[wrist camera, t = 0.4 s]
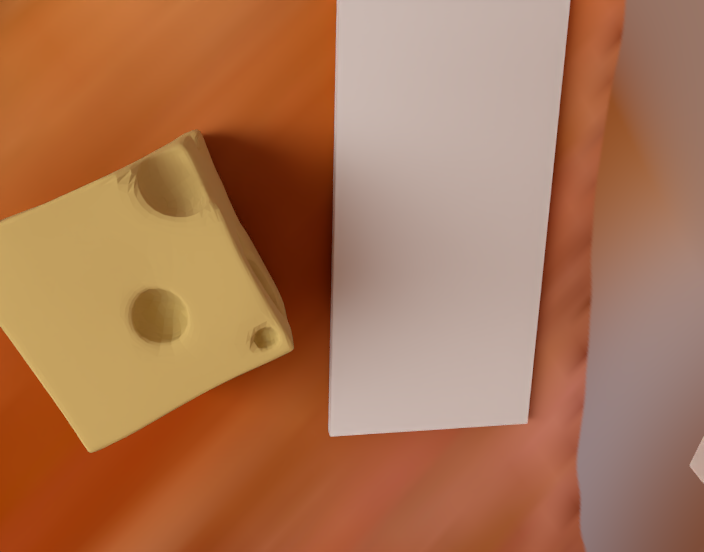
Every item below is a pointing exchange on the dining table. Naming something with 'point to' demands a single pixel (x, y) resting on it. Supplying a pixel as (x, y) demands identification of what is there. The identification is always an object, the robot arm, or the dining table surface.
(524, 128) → the mat
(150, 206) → the cheese
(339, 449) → the dining table surface
